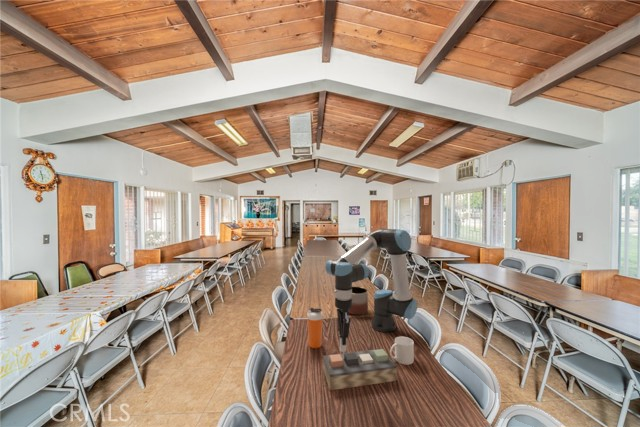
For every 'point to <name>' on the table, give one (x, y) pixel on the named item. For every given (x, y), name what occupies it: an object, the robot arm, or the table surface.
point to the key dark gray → (350, 359)
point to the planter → (359, 301)
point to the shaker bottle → (315, 327)
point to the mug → (403, 350)
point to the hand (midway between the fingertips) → (343, 350)
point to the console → (359, 372)
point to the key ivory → (365, 358)
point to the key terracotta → (335, 361)
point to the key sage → (380, 355)
